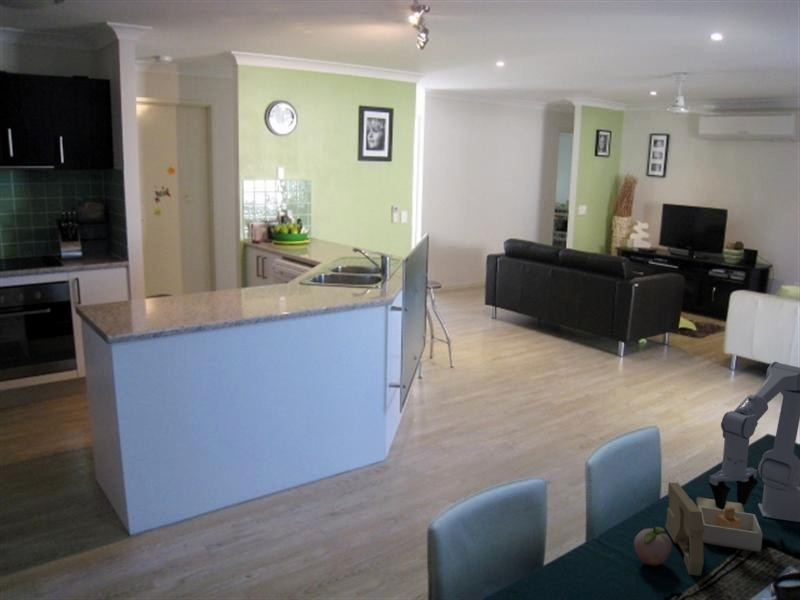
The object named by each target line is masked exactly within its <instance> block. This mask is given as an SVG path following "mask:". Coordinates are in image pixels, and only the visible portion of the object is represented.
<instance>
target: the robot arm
mask: <svg viewBox="0 0 800 600" xmlns="http://www.w3.org/2000/svg"><path fill="white" fill-rule="evenodd" d="M779 394H781V395H782V401H781V406H780V412H779V417H778V423H777V428H776V433H775V438H774V444H773V449H770V450H768V451H765V452H764V453H763V454H762V458H761V460H760V462H759V463H758V468H757V469H758V470H757V469H755V468H754V467H748V457H749V456H748V455H749V446H750V438H751V437H752V436H753V435H754V434H755V431H756V428H757V426H758V424H759V422H758V421H759V420H760V419H761V418H762V417H763V416H764V415H765V413H767V411H768V410H769V406H768V403H769V402H771V401H772V400H773V399H774V398H775V397H776V396H778V395H779ZM799 425H800V366H794V365H791V364H786V363H781V362H778V361H773V362H772V363H771V364H769V366H768V367H767V369H766V374H765V381H764V382H763V383H762V384H761V386H760V388H758V390H757V392H756V393H755V394H749V395H747V397H746V398H744V399H743V401H741V402H740V404H739V405H738V406H737V407H736V408H735V409H734V410H730V411H727V412H726V413H724V414H723V417H722V420H721V422H720V428H721V431H722V438H724V443H723V453H722V454H723V455H722V463H721V464H722V465H721V469H720V470H719V471H717V472H716V473H714V474H712V475H709V479H708V482H707V484H708V485H709V487H710V489H711V491H712V494H713V500H715V504H716V507H718V508H719V509H721V510H723V509H724V508H725V504H726V501H727V498H728V495H729V493H730V491H731V490H732V489H731V487H730V486H727V484H726V482H736V500H737V502H736V503H741V504H742V506H744V505H746V504H747V502H748V499H749V497H750V495H751V493H752V492H753V490H754V488H756V486H757V485H758V480H757V479H756V478H757V477H758V476H759V477H760V478H761V479H762V480H761V481H762V482H763V493H762V503H758V504H757V506H758V508H759V511H760V513H761V516H762V517H763V518H770V519H776V520H783V521H791V522H795V523H797V522H798V523H800V459H799V457H798V456H797V455H796V454H795V453H794V452H795V446H796V441H797V436H798V432H799V431H798V430H799ZM757 474H758V476H757Z"/></svg>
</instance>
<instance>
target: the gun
mask: <svg viewBox="0 0 800 600" xmlns="http://www.w3.org/2000/svg"><path fill="white" fill-rule="evenodd" d="M667 490H668V491H667V498H668V499H669V501H668V507H667V509H666V522H665V525H664V527H665V528H664V529H666V531H667V534H668V535H669V536H670V537H671V539H672V541H673V542H674V544H675V545H678V546H679V548H680V549H681V551H682V553H683V562H684V564H685V567H686V570H687V573H688V575H689V576H690V575H691V576H702V572H703V567H704V543H703V539H702V538H701V537H702V532H704V524H703V518H702V513H701V511H700V510H699V508H698V507H697V504H696V503H695V502H694V501H693V499H692V498H690V496H689V495H688V494H687V492H686V491H685V490H684V489H683V488H682V486H681V485H680V484H679V482H670V481H669V482H668V488H667Z"/></svg>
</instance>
